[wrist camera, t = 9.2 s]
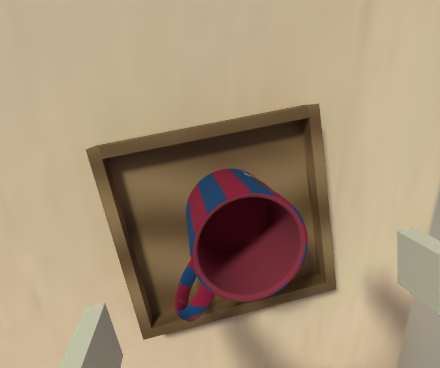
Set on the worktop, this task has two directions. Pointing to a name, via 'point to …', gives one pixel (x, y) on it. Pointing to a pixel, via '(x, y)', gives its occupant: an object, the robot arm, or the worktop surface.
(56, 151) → the worktop surface
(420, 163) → the worktop surface
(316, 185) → the tray
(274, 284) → the mug
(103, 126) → the worktop surface
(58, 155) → the worktop surface
